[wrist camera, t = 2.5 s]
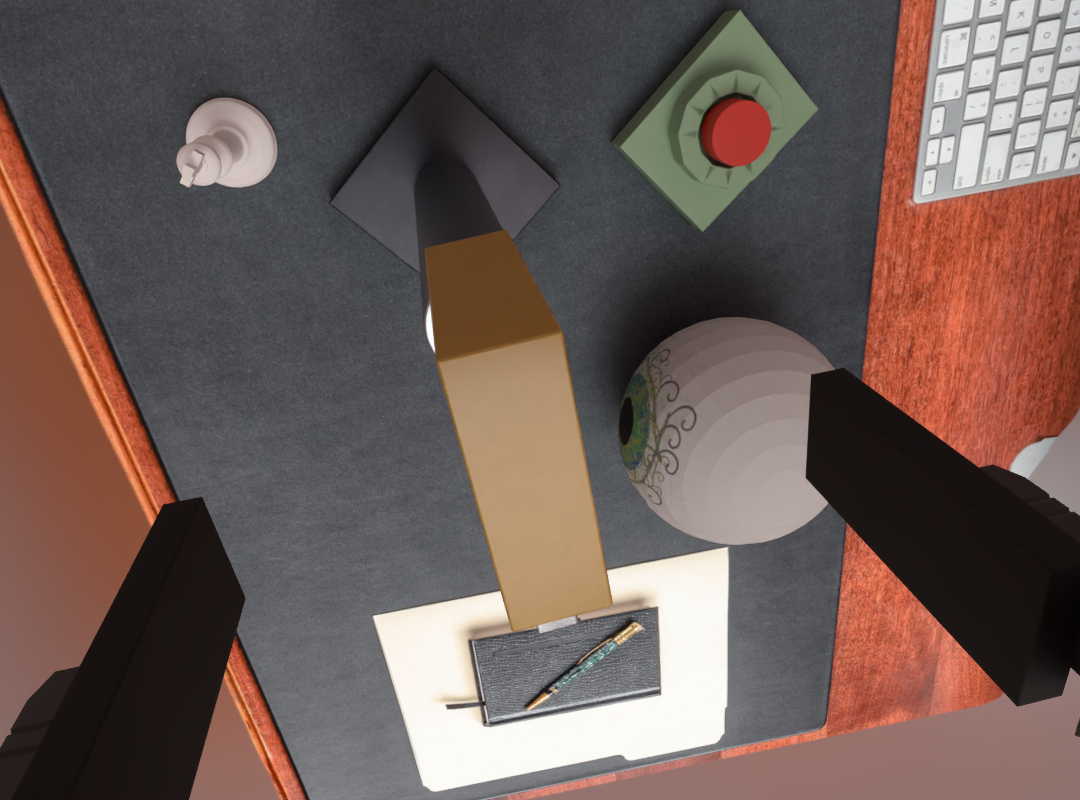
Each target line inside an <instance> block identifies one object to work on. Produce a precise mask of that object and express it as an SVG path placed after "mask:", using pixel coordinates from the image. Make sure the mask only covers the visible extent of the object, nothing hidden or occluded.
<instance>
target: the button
mask: <svg viewBox="0 0 1080 800" xmlns="http://www.w3.org/2000/svg"><path fill="white" fill-rule="evenodd" d="M770 135H771V122H770V118H769V115H768V113H767V111H766V110H765V109H764V108H763V107H762V106H761V105H760V104H758V103H756V102H754V101H750V100H744V99H739V98H729V99H725V100H723V101H721V102H719V103H717V104H716V105H715V106H714V107H713V108H712V109H711V110H710V111H709V112H708V114H707V116H706V117H705V119H704V122H703V125H702V130H701V139H702V144H703V147H704V149H705V151H706V152H707V154H708V155H709V156H710V157H712V158H713V159H715V160H717V161H719V162H722V163H724V164H727V165H730V166H744V165H747V164H749V163H751V162H753V161H754V160H756V159H757V158H758V157H759V156H760V155H761V154H762V153H763V152H764V150H765V149H766V147H767V145H768V142H769V139H770Z"/></svg>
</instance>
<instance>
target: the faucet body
mask: <svg viewBox="0 0 1080 800" xmlns="http://www.w3.org/2000/svg"><path fill="white" fill-rule="evenodd" d="M560 186H561V185H560V184H559V183H558V182H557V181H556V180H555V179H554V178H553V177H552V176H551V175H550V174H549V173H547V172H546V171H545V170H544V169H543V168H542V167H541V166H540V165H539V164H538V163H537V162H536V161H535V160H534V159H533V158H532V157H530V156H529V155H528V154H527V153H526V152H525V151H524V150H523V149H522V148H521V147H520V146H519V145H518V144H517V143H516V142H515V141H513V140H512V139H511V138H510V137H509V136H508V135H507V134H506V133H505V132H504V131H503V130H502V129H501V128H500V127H499V126H498V125H496V124H495V123H494V122H493V121H492V120H491V119H490V118H489V117H488V116H487V115H486V114H485V113H484V112H483V111H482V110H481V109H479V108H478V107H477V106H476V105H475V104H474V103H473V102H472V101H471V100H470V99H469V98H468V97H467V96H466V95H465V94H464V93H462V92H461V91H460V90H459V89H458V88H457V87H456V86H455V85H454V84H453V83H452V82H451V81H450V80H449V79H448V78H447V77H445V76H444V75H443V74H442V73H441V72H440V71H439V70H438V69H437V68H436V67H435V66H433V67H432V68H431V69H430V71H429V72H428V73H427V75H426V76H425V77H424V79H423V80H422V81H421V82H420V84H419V85H418V86H417V88H416V89H415V90H414V91H413V93H412V94H411V95H410V97H409V98H408V99H407V101H406V102H405V103H404V104H403V106H402V107H401V108H400V110H399V111H398V112H397V113H396V115H395V116H394V117H393V119H392V120H391V121H390V123H389V124H388V125H387V126H386V128H385V129H384V130H383V132H382V133H381V134H380V135H379V137H378V138H377V139H376V141H375V142H374V143H373V145H372V146H371V147H370V148H369V150H368V151H367V152H366V154H365V155H364V156H363V157H362V159H361V160H360V161H359V163H358V164H357V165H356V167H355V168H354V169H353V170H352V172H351V173H350V174H349V176H348V177H347V178H346V179H345V181H344V182H343V183H342V185H341V186H340V187H339V189H338V190H337V191H336V192H335V194H334V195H333V196H332V198H331V200H330V202H329V204H330V205H332V206H333V207H334V208H336V209H337V210H338V211H339V212H341V213H342V214H343V215H344V216H346V217H347V218H348V219H350V220H351V221H352V222H353V223H355V224H356V225H357V226H359V227H360V228H361V229H362V230H364V231H365V232H366V233H368V234H369V235H370V236H371V237H373V238H374V239H375V240H377V241H378V242H379V243H380V244H382V245H383V246H384V247H386V248H387V249H388V250H389V251H391V252H392V253H393V254H395V255H396V256H397V257H398V258H400V259H401V260H402V261H404V262H405V263H406V264H407V265H409V266H410V267H411V268H413V269H414V270H415V271H416V272H418V273H419V274H420V281H421V294H422V307H423V321H424V331H425V336H426V339H427V342H428V345H429V347H430V349H431V350H432V352H433V353H434V355H435V347H434V337H433V328H432V318H431V308H430V299H429V289H428V279H427V270H426V260H425V251H424V250H425V248H428V247H432V246H436V245H441V244H445V243H449V242H454V241H458V240H462V239H467V238H471V237H475V236H480V235H484V234H488V233H493V232H497V231H501V230H507V231H508V233H509V234H510V236H511V238H512V240H514V239H515V238H516V237H517V236H518V234H519V233H520V232H521V231H522V230H523V229H524V228H525V226H526V225H527V224H528V223H529V222H530V221H531V219H532V218H533V217H534V216H535V215H536V214H537V213H538V211H539V210H540V209H541V208H542V207H543V206H544V204H545V203H546V202H547V201H548V200H549V199H550V197H551V196H552V195H553V194H554V193H555V192H556V191H557V189H558V188H559V187H560Z"/></svg>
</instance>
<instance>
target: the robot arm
mask: <svg viewBox="0 0 1080 800" xmlns="http://www.w3.org/2000/svg"><path fill="white" fill-rule="evenodd" d="M805 478H806V479H807V480H808V481H809V482H810V483H811V484H812V485H813V487H814V488H815V489H816V490H817V491H818V492H819V493H820V494H821V495H822V496H823V497H824V498H825V500H826V501H827V502H828V503H829V504H830V505H831V506H832V507H833V508H834V509H835V510H836V511H837V513H838V514H839V515H840V516H841V517H842V518H843V519H844V520H845V521H846V522H847V523H848V524H849V525H850V527H851V528H852V529H853V530H854V531H855V532H856V533H857V534H858V535H859V536H860V537H861V538H862V540H863V541H864V542H865V543H866V544H867V545H868V546H869V547H870V548H871V549H872V550H873V551H874V552H875V554H876V555H877V556H878V557H879V558H880V559H881V560H882V561H883V562H884V563H885V564H886V565H887V567H888V568H889V569H890V570H891V571H892V572H893V573H894V574H895V575H896V576H897V577H898V578H899V579H900V581H901V582H902V583H903V584H904V585H905V586H906V587H907V588H908V589H909V590H910V591H911V592H912V594H913V595H914V596H915V597H916V598H917V599H918V600H919V601H920V602H921V603H922V604H923V605H924V606H925V608H926V609H927V610H928V611H929V612H930V613H931V614H932V615H933V616H934V617H935V618H936V619H937V621H938V622H939V623H940V624H941V625H942V626H943V627H944V628H945V629H946V630H947V631H948V632H949V634H950V635H951V636H952V637H953V638H954V639H955V640H956V641H957V642H958V643H959V644H960V645H961V646H962V648H963V649H964V650H965V651H966V652H967V653H968V654H969V655H970V656H971V657H972V658H973V659H974V661H975V662H976V663H977V664H978V665H979V666H980V667H981V668H982V669H983V670H984V671H985V672H986V673H987V675H988V676H989V677H990V678H991V679H992V680H993V681H994V682H995V683H996V684H997V685H998V686H999V688H1000V689H1001V690H1002V691H1003V692H1004V693H1005V694H1006V695H1007V696H1008V697H1009V698H1010V699H1011V700H1012V702H1013V703H1014V704H1015V705H1016V706H1017V707H1018V706H1022V705H1026V704H1030V703H1034V702H1038V701H1042V700H1046V699H1050V698H1053V697H1058V696H1061V695H1062V693H1063V690H1064V687H1065V684H1066V680H1067V677H1068V674H1069V671H1070V667H1071V668H1072V669H1073V670H1074V671H1075V672H1076V673H1077V674H1079V675H1080V516H1079V515H1078V514H1076V513H1075V512H1070V511H1069V508H1068V507H1066V506H1065V505H1064V504H1062V503H1060V502H1059V501H1058V500H1056V499H1055V498H1050V497H1049V494H1047V493H1046V492H1045V491H1044V490H1042V489H1041V488H1039V487H1038V486H1036V485H1035V484H1034V483H1032V482H1031V481H1029V480H1028V479H1026V478H1025V477H1023V476H1020V475H1018V474H1015V473H1013V472H1010V471H1008V470H1005V469H1003V468H1000V467H998V466H995V465H989V466H984V467H980V468H979V467H977V466H976V465H975V464H973V463H972V462H970V461H969V460H968V459H966V458H965V457H964V456H962V455H961V454H960V453H958V452H957V451H956V450H954V449H953V448H952V447H950V446H949V445H947V444H946V443H945V442H943V441H942V440H941V439H939V438H938V437H937V436H935V435H934V434H933V433H931V432H930V431H928V430H927V429H926V428H924V427H923V426H922V425H920V424H919V423H918V422H916V421H915V420H914V419H912V418H911V417H910V416H908V415H907V414H905V413H904V412H903V411H901V410H900V409H899V408H897V407H896V406H895V405H893V404H892V403H891V402H889V401H888V400H886V399H885V398H884V397H882V396H881V395H880V394H878V393H877V392H876V391H874V390H873V389H872V388H870V387H869V386H867V385H866V384H865V383H863V382H862V381H861V380H859V379H858V378H857V377H855V376H854V375H853V374H851V373H850V372H849V371H847V370H846V369H844V368H840V369H835V370H831V371H826V372H821V373H816V374H811V383H810V402H809V421H808V440H807V459H806V477H805ZM244 602H245V596H244V594H243V591H242V589H241V587H240V584H239V582H238V580H237V577H236V575H235V573H234V570H233V568H232V566H231V563H230V561H229V559H228V556H227V554H226V552H225V549H224V547H223V545H222V542H221V540H220V538H219V535H218V533H217V531H216V528H215V526H214V524H213V521H212V519H211V517H210V514H209V512H208V510H207V507H206V505H205V503H204V500H203V498H202V497H199V498H194V499H189V500H184V501H179V502H174V503H169V504H164V505H163V506H162V508H161V510H160V512H159V514H158V516H157V518H156V520H155V522H154V524H153V526H152V527H151V529H150V531H149V533H148V535H147V537H146V539H145V541H144V543H143V545H142V547H141V549H140V551H139V553H138V555H137V557H136V558H135V560H134V563H133V564H132V566H131V568H130V570H129V572H128V574H127V576H126V578H125V580H124V582H123V584H122V586H121V588H120V589H119V591H118V594H117V596H116V597H115V599H114V601H113V603H112V605H111V607H110V609H109V611H108V613H107V615H106V617H105V619H104V621H103V623H102V625H101V626H100V628H99V631H98V632H97V634H96V636H95V638H94V640H93V642H92V644H91V646H90V648H89V650H88V652H87V653H86V655H85V657H84V659H83V661H82V663H81V665H80V666H79V667H75V668H70V669H66V670H61V671H56V672H55V673H53V675H52V676H51V677H50V678H49V679H48V680H47V681H46V682H45V683H44V684H43V685H42V686H41V687H40V688H39V689H38V690H37V691H36V692H35V693H34V694H33V695H32V696H31V697H30V698H29V699H28V700H27V702H26V704H25V705H24V707H23V709H22V711H21V712H20V715H19V716H18V718H17V719H16V721H15V723H14V725H13V727H12V728H11V735H8V736H7V737H6V739H5V741H4V742H3V744H2V746H1V748H0V800H189V797H190V794H191V790H192V787H193V783H194V779H195V776H196V772H197V769H198V765H199V761H200V758H201V754H202V751H203V747H204V744H205V741H206V737H207V733H208V730H209V726H210V723H211V719H212V715H213V712H214V708H215V705H216V701H217V698H218V694H219V691H220V687H221V684H222V680H223V677H224V673H225V669H226V666H227V662H228V659H229V655H230V652H231V648H232V645H233V641H234V637H235V634H236V630H237V627H238V623H239V620H240V616H241V613H242V609H243V605H244ZM1075 735H1076V736H1079V737H1080V719H1079V722H1078V725H1077V729H1076V733H1075Z"/></svg>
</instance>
